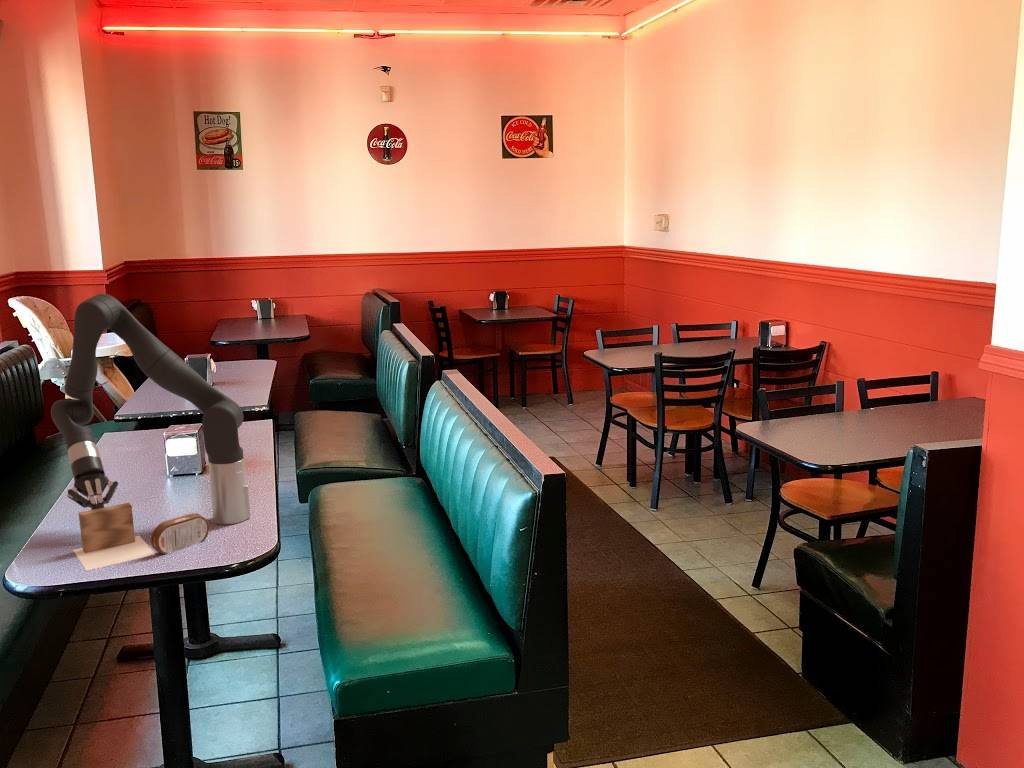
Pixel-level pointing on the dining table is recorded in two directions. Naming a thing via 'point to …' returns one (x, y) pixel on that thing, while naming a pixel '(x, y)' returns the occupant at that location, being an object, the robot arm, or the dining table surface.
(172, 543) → the tin
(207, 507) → the dining table surface
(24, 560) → the dining table surface
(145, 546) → the placemat
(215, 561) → the dining table surface
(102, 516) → the plaque
